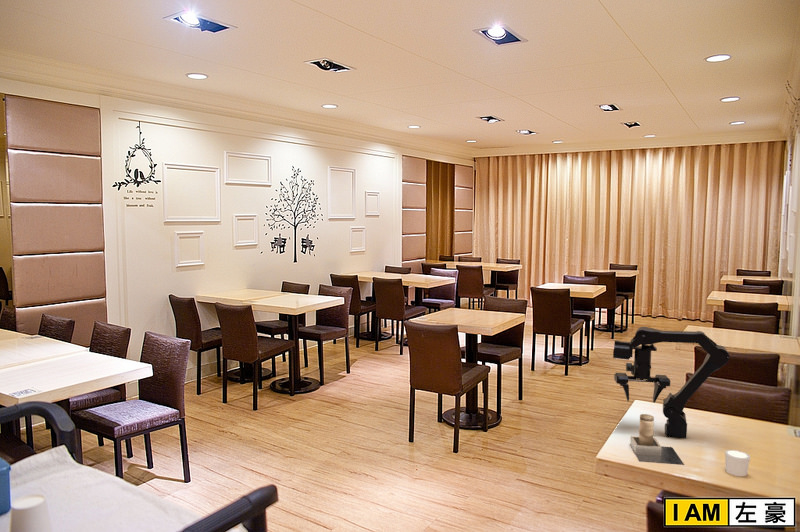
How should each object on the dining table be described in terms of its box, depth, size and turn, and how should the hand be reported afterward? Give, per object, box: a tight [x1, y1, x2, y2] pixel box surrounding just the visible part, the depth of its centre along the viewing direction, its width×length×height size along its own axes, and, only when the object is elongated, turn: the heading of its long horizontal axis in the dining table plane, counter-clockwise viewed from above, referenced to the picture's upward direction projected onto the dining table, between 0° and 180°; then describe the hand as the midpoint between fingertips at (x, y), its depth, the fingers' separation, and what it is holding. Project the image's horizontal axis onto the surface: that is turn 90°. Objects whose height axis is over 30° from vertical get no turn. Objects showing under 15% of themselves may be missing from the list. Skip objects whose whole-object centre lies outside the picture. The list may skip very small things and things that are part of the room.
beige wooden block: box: [638, 413, 655, 446], centre depth 193 cm, size 4×4×12 cm
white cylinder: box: [724, 449, 751, 478], centre depth 177 cm, size 7×7×7 cm
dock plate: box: [629, 435, 685, 466], centre depth 190 cm, size 14×14×4 cm
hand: (640, 401), depth 210 cm, fingers open, 9 cm apart
